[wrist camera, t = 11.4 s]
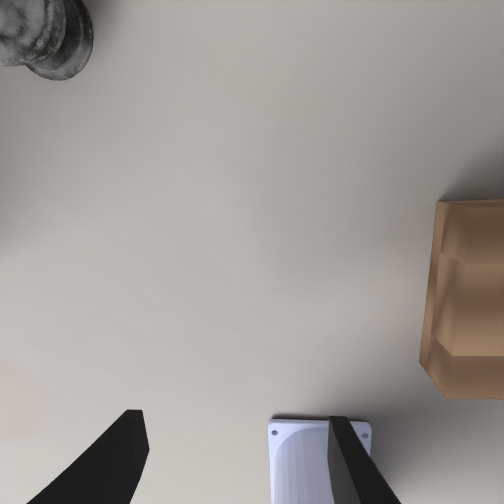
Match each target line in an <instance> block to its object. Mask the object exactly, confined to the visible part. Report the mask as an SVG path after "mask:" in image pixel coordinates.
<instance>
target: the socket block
mask: <svg viewBox="0 0 504 504" xmlns="http://www.w3.org/2000/svg"><path fill="white" fill-rule="evenodd" d="M419 363H420V364H421V365H422V367H423V368H424V369H425V371H426V372H427V373H428V375H429V376H430V377H431V379H432V380H433V382H434V383H435V384H436V386H437V387H438V388H439V390H440V391H441V392H442V394H443V395H444V396H445V398H447V399H497V400H504V199H482V200H459V201H437V209H436V218H435V227H434V236H433V245H432V253H431V262H430V271H429V280H428V289H427V298H426V307H425V316H424V325H423V334H422V343H421V352H420V361H419Z"/></svg>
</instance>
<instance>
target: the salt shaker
mask: <svg viewBox="0 0 504 504" xmlns="http://www.w3.org/2000/svg"><path fill="white" fill-rule="evenodd" d="M92 43H93V32H92V23H91V20H90V17H89V14H88V11H87V9H86V7H85V6H84V4H83V2H82V1H81V0H0V65H1V66H19V65H26V66H27V67H28V68H29V69H30V70H31V71H33V72H34V73H36V74H38V75H39V76H41V77H44V78H47V79H50V80H65V79H68V78H71V77H73V76H75V75H76V74H77V73H79V72H80V71H81V70H82V69H83V67H84V66H85V64H86V63H87V62H88V59H89V56H90V53H91V51H92Z"/></svg>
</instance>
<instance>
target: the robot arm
mask: <svg viewBox="0 0 504 504" xmlns="http://www.w3.org/2000/svg"><path fill="white" fill-rule="evenodd" d="M273 430H276V431H273ZM363 433H366V434H363ZM268 435H269V455H270V476H271V497H272V504H401V502H400V501H399V500H398V498H397V497H396V495H395V494H394V493H393V491H392V490H391V488H390V487H389V485H388V484H387V482H386V481H385V479H384V478H383V476H382V475H381V473H380V472H379V470H378V469H377V467H376V465H375V464H374V462H373V461H372V459H371V458H370V450H371V436H372V429H371V426H370V424H369V423H367V422H356V421H350V420H349V419H348V418H347V417H344V416H329V421H321V420H285V419H272V420H270V421H269V423H268ZM149 450H150V449H149V444H148V439H147V433H146V428H145V423H144V417H143V412H142V410H126V411H125V412H124V413H123V414H122V415H121V416H120V417H119V418H118V419H117V420H116V421H115V422H114V423H113V424H112V425H111V426H110V427H109V428H108V429H107V430H106V431H105V432H104V433H103V434H102V435H101V436H100V437H99V438H98V439H97V440H96V441H95V442H94V443H93V444H92V445H91V446H90V447H89V448H88V449H87V450H86V451H85V452H83V453H82V454H81V455H80V456H79V457H78V458H77V459H76V460H75V461H74V462H73V463H72V464H71V465H70V466H69V467H68V468H67V469H66V470H64V471H63V472H62V473H61V474H60V475H59V476H58V477H57V478H56V479H54V480H53V481H52V482H51V483H50V484H49V485H48V486H47V487H46V488H44V489H43V490H42V491H41V492H40V493H39V494H37V495H36V496H35V497H34V498H33V499H32V500H30V501H29V502H28V503H27V504H130V501H131V499H132V497H133V495H134V492H135V490H136V488H137V485H138V483H139V481H140V478H141V475H142V472H143V469H144V466H145V462H146V459H147V456H148V453H149Z"/></svg>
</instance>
